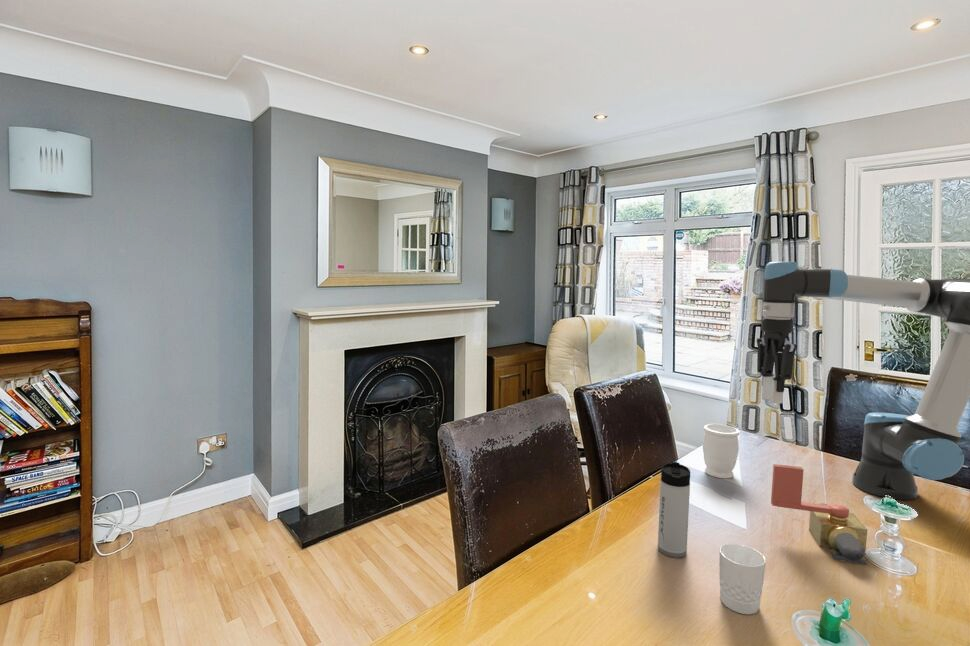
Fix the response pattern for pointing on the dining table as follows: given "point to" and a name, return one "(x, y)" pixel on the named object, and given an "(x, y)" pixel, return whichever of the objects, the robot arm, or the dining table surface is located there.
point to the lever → (797, 492)
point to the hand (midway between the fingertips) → (771, 400)
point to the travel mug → (674, 510)
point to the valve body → (840, 536)
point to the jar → (720, 449)
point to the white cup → (741, 577)
